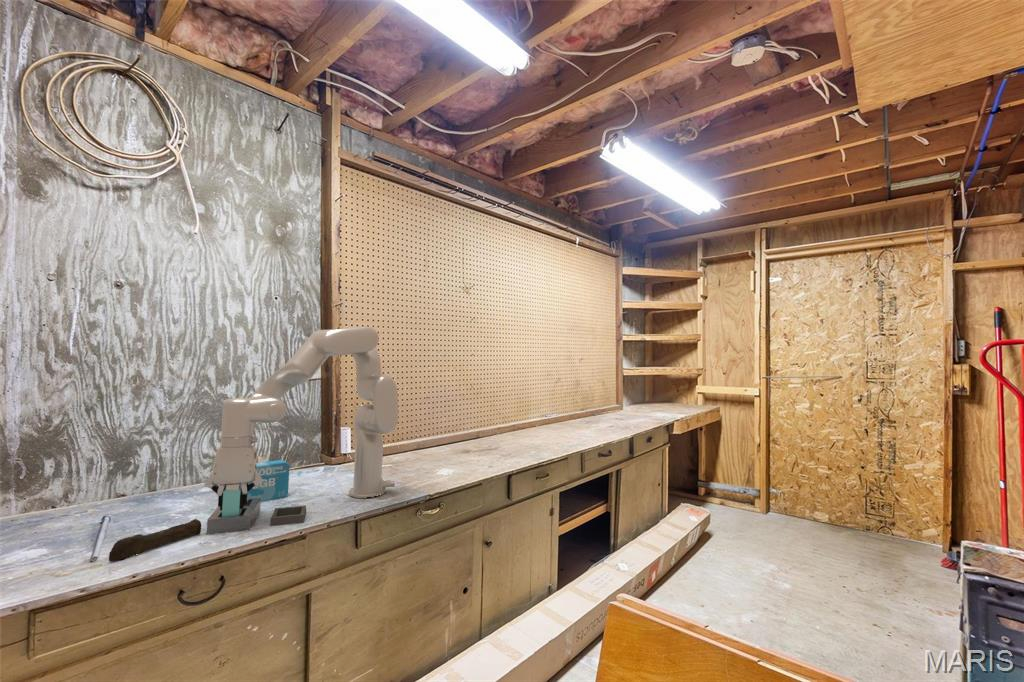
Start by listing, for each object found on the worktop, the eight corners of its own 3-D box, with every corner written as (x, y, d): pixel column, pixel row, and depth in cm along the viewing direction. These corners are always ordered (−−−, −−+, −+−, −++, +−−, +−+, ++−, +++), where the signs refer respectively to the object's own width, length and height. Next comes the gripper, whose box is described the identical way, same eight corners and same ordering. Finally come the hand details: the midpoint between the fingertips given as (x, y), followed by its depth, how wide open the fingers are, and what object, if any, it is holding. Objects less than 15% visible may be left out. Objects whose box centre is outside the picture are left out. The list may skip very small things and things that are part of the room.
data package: (248, 504, 138) (250, 466, 139) (244, 500, 141) (246, 464, 142) (288, 496, 146) (289, 461, 147) (283, 493, 150) (285, 459, 150)
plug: (241, 516, 122) (243, 480, 123) (238, 521, 118) (240, 484, 119) (225, 517, 121) (227, 481, 121) (221, 522, 117) (223, 485, 118)
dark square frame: (305, 512, 132) (306, 505, 132) (303, 522, 124) (303, 514, 124) (274, 515, 129) (275, 508, 129) (270, 526, 121) (270, 518, 121)
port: (260, 510, 133) (261, 493, 133) (249, 530, 118) (250, 510, 118) (222, 514, 129) (223, 496, 129) (206, 534, 114) (207, 514, 114)
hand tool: (193, 532, 116) (194, 514, 116) (202, 535, 114) (203, 517, 115) (103, 560, 99) (104, 540, 99) (111, 564, 97) (113, 544, 98)
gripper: (272, 438, 127) (268, 501, 126) (205, 440, 121) (200, 506, 120) (268, 443, 120) (264, 509, 119) (197, 445, 114) (192, 515, 113)
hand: (232, 507), depth 120 cm, fingers closed on plug, 4 cm apart
